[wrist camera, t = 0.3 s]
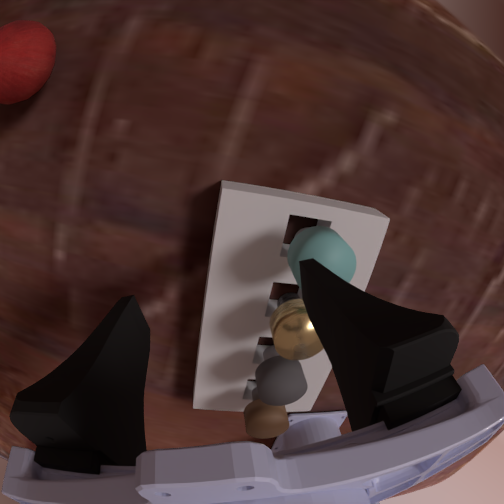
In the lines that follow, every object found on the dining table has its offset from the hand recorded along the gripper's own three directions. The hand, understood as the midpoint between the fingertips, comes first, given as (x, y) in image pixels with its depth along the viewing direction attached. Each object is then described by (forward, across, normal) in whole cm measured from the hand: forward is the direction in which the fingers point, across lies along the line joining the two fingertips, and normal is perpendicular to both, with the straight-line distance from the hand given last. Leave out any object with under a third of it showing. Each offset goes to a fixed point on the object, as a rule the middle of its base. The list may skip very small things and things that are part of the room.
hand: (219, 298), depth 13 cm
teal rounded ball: (+7, -6, +2) cm, 10 cm away
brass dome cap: (+7, -4, +7) cm, 11 cm away
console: (+9, -3, +10) cm, 14 cm away
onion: (+12, +10, -14) cm, 21 cm away
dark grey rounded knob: (+7, -2, +12) cm, 13 cm away
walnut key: (+6, 0, +16) cm, 17 cm away
